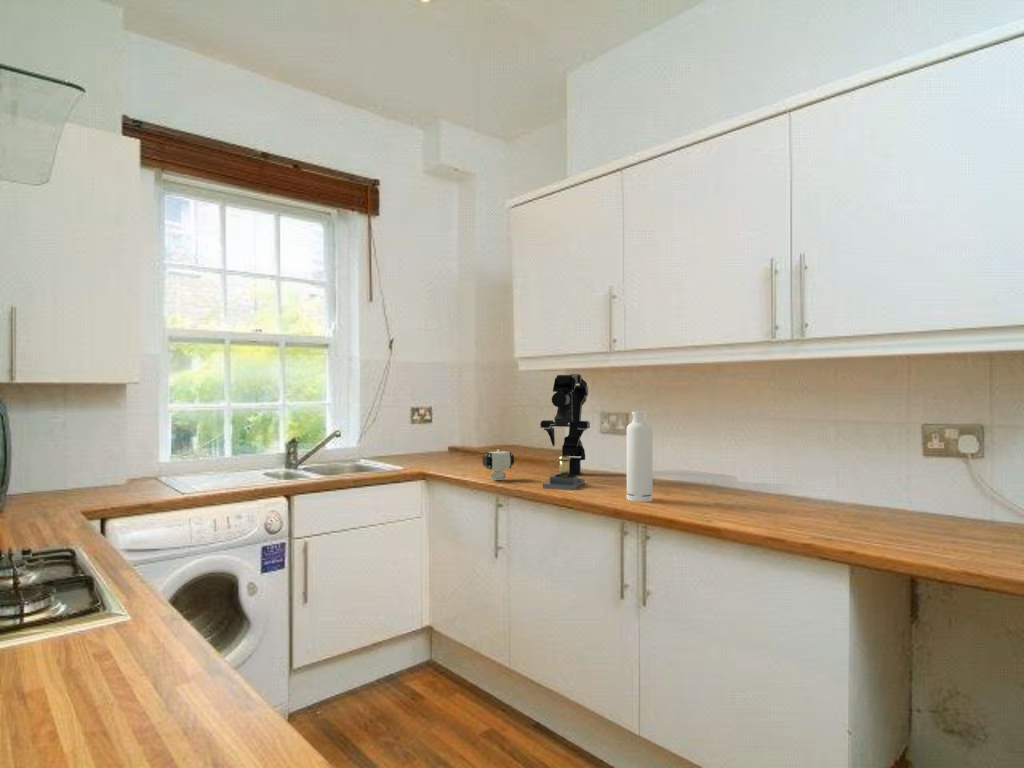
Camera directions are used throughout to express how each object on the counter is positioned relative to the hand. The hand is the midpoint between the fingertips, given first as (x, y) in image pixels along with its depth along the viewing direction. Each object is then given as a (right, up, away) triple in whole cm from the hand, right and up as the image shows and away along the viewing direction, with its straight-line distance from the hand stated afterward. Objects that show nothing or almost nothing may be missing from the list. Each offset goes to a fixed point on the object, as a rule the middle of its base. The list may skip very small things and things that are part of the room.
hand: (565, 446), depth 224 cm
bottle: (+20, -13, -42) cm, 48 cm away
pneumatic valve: (-26, -13, -2) cm, 29 cm away
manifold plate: (-2, -13, -14) cm, 19 cm away
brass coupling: (-2, -11, -14) cm, 18 cm away
